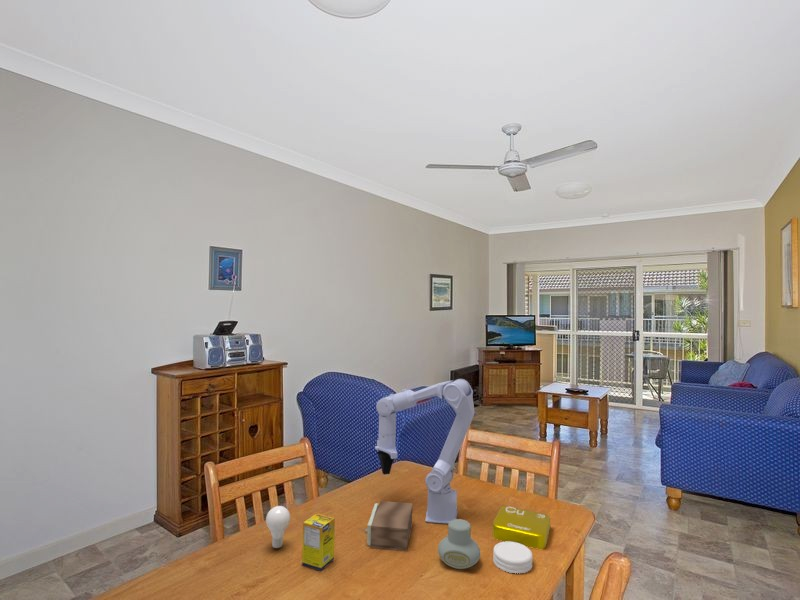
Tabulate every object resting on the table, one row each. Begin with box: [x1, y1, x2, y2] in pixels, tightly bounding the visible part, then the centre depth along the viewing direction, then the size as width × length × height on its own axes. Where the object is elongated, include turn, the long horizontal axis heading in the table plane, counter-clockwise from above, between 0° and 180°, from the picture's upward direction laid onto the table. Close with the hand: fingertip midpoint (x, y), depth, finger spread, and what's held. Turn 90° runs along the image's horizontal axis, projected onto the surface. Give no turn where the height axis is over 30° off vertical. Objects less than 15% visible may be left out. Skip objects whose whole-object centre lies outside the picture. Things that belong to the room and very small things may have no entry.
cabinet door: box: [364, 503, 379, 547], centre depth 131 cm, size 2×15×6 cm, turn 175°
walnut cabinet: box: [370, 500, 413, 552], centre depth 130 cm, size 10×16×6 cm, turn 173°
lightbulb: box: [265, 505, 291, 549], centre depth 122 cm, size 6×6×11 cm
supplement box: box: [301, 513, 336, 572], centre depth 115 cm, size 6×6×11 cm
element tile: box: [492, 505, 551, 550], centre depth 133 cm, size 15×15×5 cm
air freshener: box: [437, 518, 481, 570], centre depth 117 cm, size 11×8×10 cm
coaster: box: [492, 541, 533, 575], centre depth 117 cm, size 10×10×4 cm
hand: (386, 473), depth 149 cm, fingers closed
